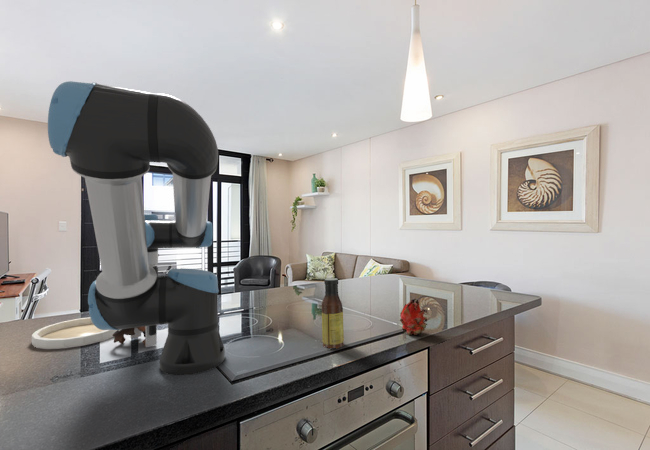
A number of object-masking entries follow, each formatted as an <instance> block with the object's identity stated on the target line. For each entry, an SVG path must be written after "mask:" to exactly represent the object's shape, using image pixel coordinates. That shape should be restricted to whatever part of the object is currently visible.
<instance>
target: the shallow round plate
mask: <svg viewBox="0 0 650 450" xmlns="http://www.w3.org/2000/svg"><path fill="white" fill-rule="evenodd" d="M120 330H122V329H120ZM120 330H119V331H120ZM116 331H117V330H101V329H98V328H97V327H96V326H95V325H94V324H93V322H92V320H91V318H90V316H87V317H81V318H75V319H68V320H65V321H59V322H56V323H54V324H53V323H52V324H50V325H46V326H44V327H42V328H39V329H37V330H36V331H34V332H33V333H32V334H31V345H32V346H33V347H34V348H35V347H36V349H41V350H57V349H69V348H76V347H82V346H89V345H91V344H96V343H100V342H104V341H107V340H110V339H112V338H114V336H113V334H114V333H115V332H116Z"/></svg>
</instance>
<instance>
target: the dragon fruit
mask: <svg viewBox="0 0 650 450" xmlns="http://www.w3.org/2000/svg"><path fill="white" fill-rule="evenodd" d="M425 314H426V315H428V314H429V313H428V310H427V309H423V308H422V309H421V307H420V300H418V299H417V298H414V299H411V300H410V301H409V302H408V303H406V304H404V306H403V308H402V310H401V312H400V315H399V316H400V318H399V321H400V322H401V324H402V327H401V328H402V331H403V332H406V334H407V335H408V336H411V335H412V336H417V335H420V334H421V333H422V332H424V331H425V329H426V328H427V326H428V323H427V322H428V318H427V317H425V316H424V315H425Z"/></svg>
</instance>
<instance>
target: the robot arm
mask: <svg viewBox="0 0 650 450" xmlns="http://www.w3.org/2000/svg"><path fill="white" fill-rule="evenodd" d="M47 137H48V141H49V145H50V148H51V149H52V152H53V153H54V154H56V155H58V156H61V157H63V158H65V157H68V158H69V162H70V166H71V169H72V171H73V172H74V173H75V174H77V175H79V176H81V177H82V178H84V181H85V187H86V191H87V192H86V193H87V198H88V202H89V207H90V212H91V213H90V214H91V218H92V224H93V228H94V229H93V230H94V234H95V240H96V245H97V251H98V256H99V262H100V263H99V264H100V267H101V272H100V273H99V274H98V275H97V276H96V279H95V280H94V281H92V283H91V284H90V286H89V290H88V295H87V304H88V314H89V317H90V318H91V320H92V322H93V324H94V325H95V326H96V327H97V328H98V329H101V330H120V329H127V328H135V329H134V332H135V335H130V339H131V340H132V339H136V338H140V337H142V331H140V330H139V329H138V328H136V327H144V326H146V334H145V337H144V339H145V346H144V348H150V347H154V346H157V343H158V342H157V339H158V338H157V337H158V336H157V332H158V331H157V330H158V329H157V328H158V327H157V326H159V325H167V327H168V328H167V337H166V340H165V343H164V344H163V345H164V346H163V347H162V350H161V354H160V358H159V369H160V371H161V372H162V373H164V374H166V375H171V376H190V375H196V374H202V373H206V372H208V371H210V370H213V369H215V368H217V367H219V366H220V365H221V364H222V363H223V362H224V361H225V358H226V350H225V345H224V343H223V340H222V337H221V333H220V331H219V322H218V321H219V312H218V311H219V308H218V307H219V299H218V297H219V295H218V294H219V292H220V290H219V285H218V284H219V281H218V276H217V275H216V274H215V273H213V272H211V271H209V270H203V269H199V268H197V269H196V268H184V267H183V268H182V267H181V268H170V269H169V270H168V272H167V275H159V267H158V264H159V256H160V253H159V249H185V248H186V249H191V248H193V249H200V248H209V247H211V246H212V244H213V240H214V239H213V238H214V236H213V235H214V227H213V226H214V225H213V223H212V222H211V221H208V213H209V212H208V210H209V201H210V200H209V199H210V190H211V189H210V188H211V181H212V179H211V178H212V175H214V174H215V172H216V171H217V168H218V162H219V149H218V148H219V147H218V144H217V141H216V139H215V138H216V137H215V135H214V134H213V131H212V130H211V128H210V126H209V125H208V123H206V121H205V119H204V118H203V117H202V115H200V113H198V112H197V111H196V109H194V108H193V107H192V106H191V105H190V104H188V103H186V102H185V101H183V100H182V99H180V98H177V97H175V96H173V95H169V94H165V93H155V92H147V91H142V90H136V89H130V88H129V89H128V88H126V87H125V88H124V87H118V86H114V85H113V86H112V85H107V84H106V85H105V84H100V83H97V82H92V83H91V82H79V81H73V80H72V81H71V80H70V81H69V80H68V81H65V82H62V83H60V84H59V85H57V87H56V88H55V89H54V92H53V94H52V96H51V99H50V102H49V107H48V116H47ZM150 163H165V164H166V166H167V168H168V169H169V170H170V171H171V173H172V186H173V188H172V189H173V200H174V201H173V202H174V203H173V204H174V219H175V220H159V216H158V215H157V214H156V213H145V206H144V203H145V202H144V195H143V193H144V192H143V182H142V177H143V176H144V175H146V174H147V173H148V172H149V171H150V168H151V165H150Z"/></svg>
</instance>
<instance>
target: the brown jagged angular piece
mask: <svg viewBox="0 0 650 450" xmlns="http://www.w3.org/2000/svg"><path fill="white" fill-rule="evenodd" d="M136 328H138V329H139V330H140V331H141V333H142V334H143V337H144V339H143V340H142V343H143V345H144V347H145V334H146V326H144V327H136ZM134 329H135V328H127V329H122V330H120V331H119V330H117V331H116V332H115V333H114V334H113V336H114V337H113V338H114V339H113V343H114V344H115V343H117V342H118V343H120V344H121V345H123V344H124V342H126V338H125V336H131V335H135V332H134ZM124 335H125V336H124Z"/></svg>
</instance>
